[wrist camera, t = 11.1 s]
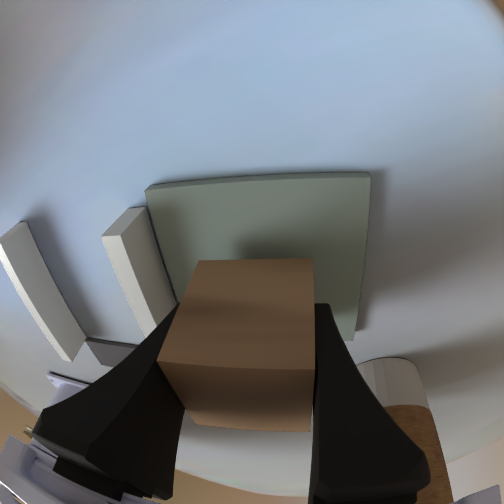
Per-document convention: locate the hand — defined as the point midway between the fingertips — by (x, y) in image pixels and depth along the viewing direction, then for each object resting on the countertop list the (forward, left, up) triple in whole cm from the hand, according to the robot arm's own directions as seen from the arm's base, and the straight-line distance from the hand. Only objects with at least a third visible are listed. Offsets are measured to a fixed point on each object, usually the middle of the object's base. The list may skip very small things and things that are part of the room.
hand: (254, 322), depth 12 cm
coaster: (0, 0, -3) cm, 3 cm away
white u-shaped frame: (-3, +10, -3) cm, 11 cm away
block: (0, 0, -2) cm, 2 cm away
